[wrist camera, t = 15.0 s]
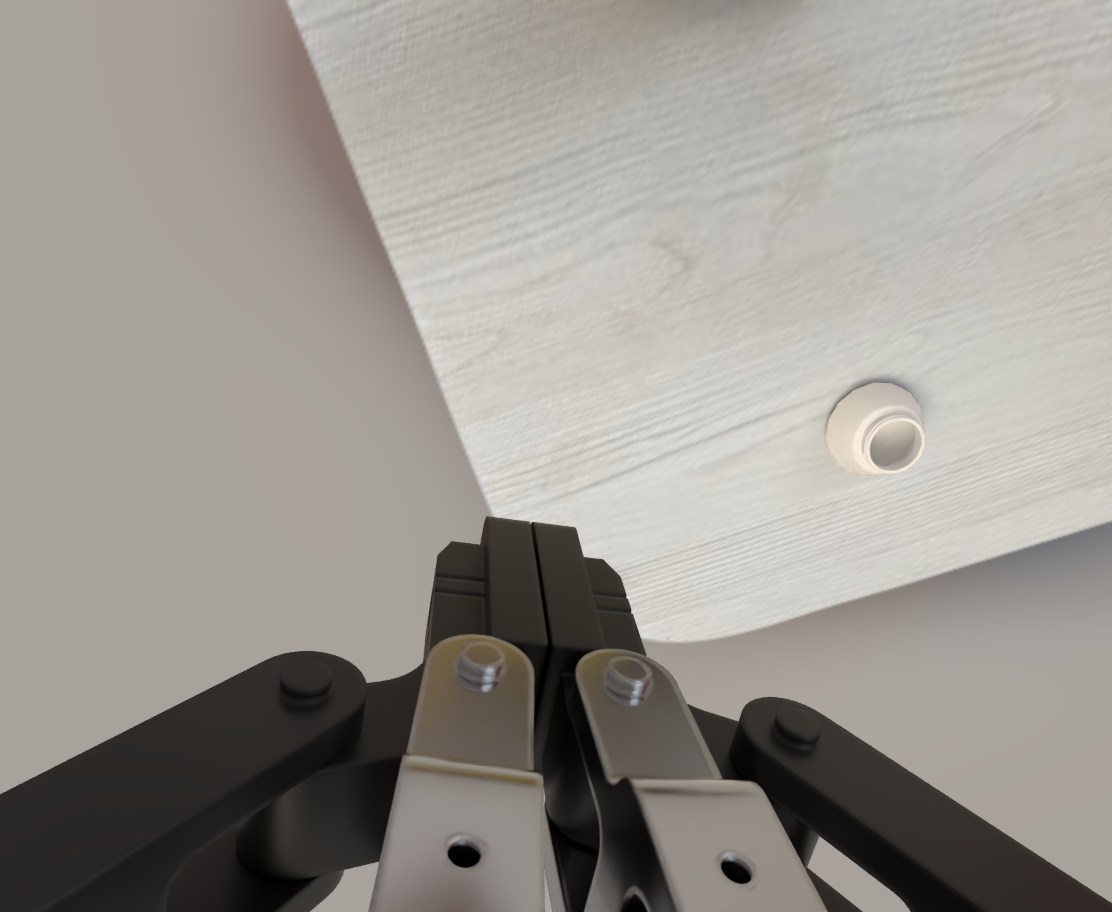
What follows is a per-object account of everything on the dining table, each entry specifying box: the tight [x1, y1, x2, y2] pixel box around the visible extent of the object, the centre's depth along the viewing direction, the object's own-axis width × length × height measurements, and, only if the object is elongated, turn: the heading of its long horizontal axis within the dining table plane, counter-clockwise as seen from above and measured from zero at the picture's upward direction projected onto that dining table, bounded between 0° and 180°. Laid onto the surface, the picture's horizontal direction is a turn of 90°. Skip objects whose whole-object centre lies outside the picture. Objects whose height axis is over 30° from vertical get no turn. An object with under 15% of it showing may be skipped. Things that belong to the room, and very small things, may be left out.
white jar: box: [826, 383, 925, 475], centre depth 42 cm, size 5×3×5 cm
